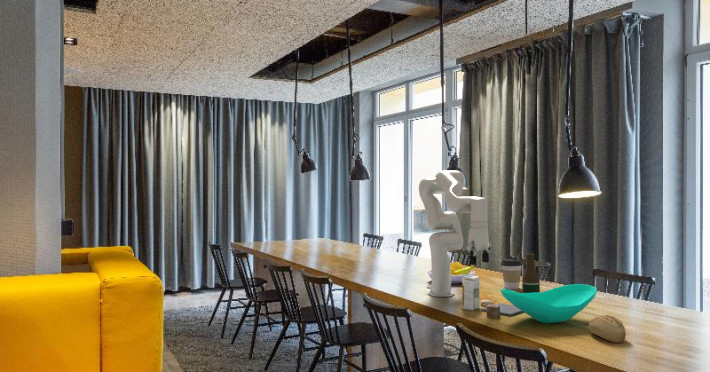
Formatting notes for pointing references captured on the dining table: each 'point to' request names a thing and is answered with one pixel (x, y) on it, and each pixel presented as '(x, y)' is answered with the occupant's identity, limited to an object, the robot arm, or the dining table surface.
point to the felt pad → (507, 309)
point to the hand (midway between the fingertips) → (479, 263)
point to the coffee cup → (511, 273)
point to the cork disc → (486, 302)
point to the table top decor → (553, 302)
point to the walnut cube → (493, 311)
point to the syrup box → (470, 292)
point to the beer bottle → (530, 276)
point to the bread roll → (608, 328)
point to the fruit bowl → (457, 272)
